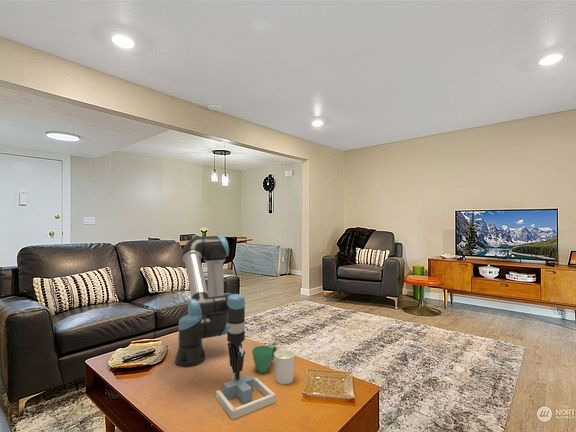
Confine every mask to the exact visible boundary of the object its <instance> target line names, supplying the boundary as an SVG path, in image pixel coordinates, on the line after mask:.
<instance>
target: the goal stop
mask: <svg viewBox="0 0 576 432" xmlns="http://www.w3.org/2000/svg"><path fill="white" fill-rule="evenodd" d="M253 379H254V388H256V389H257V390H258V391H259V392H260V393H261V394H263V397H261V398H258V399H255V400H252V401H250V402H247V403H244V404H242V405H240V406H237V407H235V406H233V405H232V403H231V402H230V401H229V400H227V398H226V397H225V396H224V393H223V392H222V391H221V390H220V389H219V390H216V391H215V396H216V397H215V398H216V400H217V402H218V403H219V404H220V406H221V407H222V408H223V410H224V411H225V412H226V413H227V415H228V416H229V418H230V419H231V420H236V419H238V418H241V417H243V416H246V415H248V414H250V413H253V412H255V411H256V412H257V411H258V410H260V409H263V408H266V407H267V406H270V405H273V404H275V403H276V401H277V400H276V396H277V395H276V393H275V392H273V390H271V389H270V388H269V387H268V386H267V385H265V384H264V383H263V382H262V381H261V379H259V378H258V377H254V378H253Z"/></svg>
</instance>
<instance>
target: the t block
mask: <svg viewBox="0 0 576 432" xmlns="http://www.w3.org/2000/svg"><path fill="white" fill-rule="evenodd" d="M254 388H255V386H254V378H253V377H252V376H251V375H250V374H249V375H246V376H242V377H240V378H239V379H237V380H233V379H232V380H230V381H228V382H224V383H223V395H224V396H225V397H226V398H227V400H228V401H229V400H231V399H235V398H237V399H238V400H239V401H240V402H241V403H242V405H245V404H247V403H250V402H252V401H253V391H255V390H254Z"/></svg>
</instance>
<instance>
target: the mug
mask: <svg viewBox="0 0 576 432" xmlns="http://www.w3.org/2000/svg"><path fill="white" fill-rule="evenodd" d="M276 351H277V348H276V346H275V344H274V345H273V344H272V345H270V346H269V345H260V346H259V345H258V346H255V347H253V348H252V350H251V352H252V358H253V363H254V365H255V369H256V371H257V372H258V373H259V374H264V373H267V372H268V369H269V367H270V365H271V364H272V362H273V361H274V353H275V352H276Z"/></svg>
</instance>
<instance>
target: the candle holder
mask: <svg viewBox="0 0 576 432" xmlns="http://www.w3.org/2000/svg"><path fill="white" fill-rule="evenodd" d="M295 359H296V353H295V351H294V350H292V349H288V348H282V349H278V350H277V349H276V352H275V353H274V359H273V361H274V374H275V375H274V376H275V377H274V378H275V381H276V382H277V383H278V384H280V385H289V384H291V383H293V381H294V379H295V378H294V376H295V362H296V360H295Z"/></svg>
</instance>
